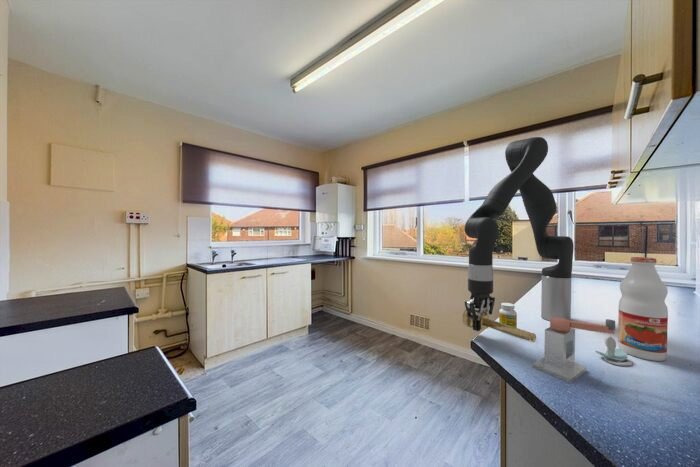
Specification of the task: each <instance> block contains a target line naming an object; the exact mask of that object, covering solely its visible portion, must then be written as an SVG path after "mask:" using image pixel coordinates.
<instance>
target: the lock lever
mask: <svg viewBox="0 0 700 467" xmlns="http://www.w3.org/2000/svg"><path fill="white" fill-rule="evenodd" d="M549 322H550V324H549V327H551V328H552V329H554V330H558V331H563V332H569V331H570V328H573V329H575V330H576V329H577V330H583V331H590V332H596V333H597V332H598V333H605V334H610V335H611V334H612V335H614V334H615V330H616V320H614V319H610V318H609V319H608V318H607V319H605V324H598V323H592V322H591V323H590V322H583V321H577V320H571V321H570V320H567V319H564V318H559V317H551V318H550V321H549Z"/></svg>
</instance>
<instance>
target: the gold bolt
mask: <svg viewBox="0 0 700 467" xmlns="http://www.w3.org/2000/svg"><path fill="white" fill-rule="evenodd" d="M476 315H477V312H476ZM489 317H490V314H485V313H481V316H480V331H481V330H482V331H484V330H486V329H489V328H490V329H493V330H496V331H499V332H501V333H504V334H508V335H511V336H513V337H516V338H520V339H521V340H524V341H529V342H532V343H535V342H536V339H537V335H536V333H535V332H530V331H527V330H525V329H521V328H515V327H512V326H508V325H505V324H502V323H499V321H496V320H491V319H489ZM462 323H463V325H464V326H465V327H469V328H473V327H472V318H469V317H468V315H467V311H466V309H464V311H463V313H462Z"/></svg>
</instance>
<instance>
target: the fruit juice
mask: <svg viewBox="0 0 700 467" xmlns="http://www.w3.org/2000/svg"><path fill="white" fill-rule="evenodd" d="M630 263H631V266H630V268H629V270H628V272H627V274H626V276H625V277H624V278H623V279H622V280H621V281H620V284H619V290H620V294H621V297H620V298H619V301H618V317H617V319H618V321H617V322H618V324H617V328H618V329H617V346H618V349H620V350H623V351H624V352H625V353H626V354H627V355H629V356H632V357H636V358H637V359H638V358H639V359H643V360H647V361H655V362H663V361H665V360H666V359H667V357H668V326H669V325H668V320H669V311H668V306H667V304H666V301H665V300H666V299H667V296H668V293H669V292H668V287H667V285H666V284H665V283H664V281H662V279H661V277H660V275H659V273H658V271H657V269H656V265H657V258H654V257H646V256H644V257H643V256H631V257H630Z"/></svg>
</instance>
